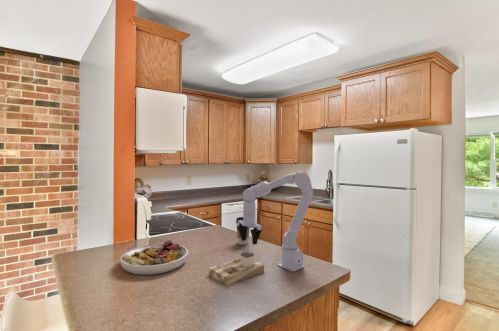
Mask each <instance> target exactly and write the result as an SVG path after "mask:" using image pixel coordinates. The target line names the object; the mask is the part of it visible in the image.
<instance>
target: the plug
mask: <svg viewBox="0 0 499 331" xmlns="http://www.w3.org/2000/svg"><path fill="white" fill-rule="evenodd" d="M254 254H255V253H253V252H251V251H248V250H247V251H244V252H241V253H240V258H241V266H242V267H245V268H249V267H252V266H254V261H255V259H254V258H255V256H254Z"/></svg>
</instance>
